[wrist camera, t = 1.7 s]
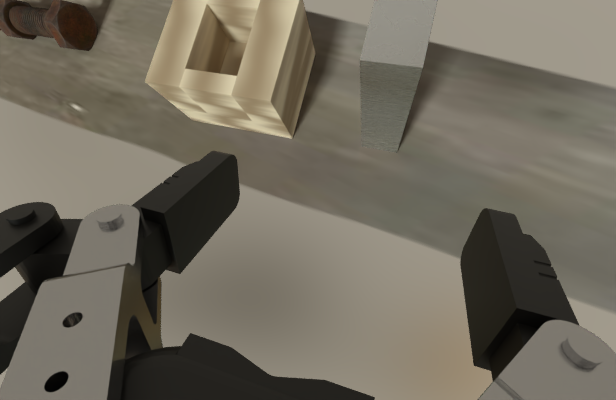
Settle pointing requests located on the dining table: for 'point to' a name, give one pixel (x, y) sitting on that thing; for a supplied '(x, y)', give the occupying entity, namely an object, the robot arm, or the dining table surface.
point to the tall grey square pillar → (392, 68)
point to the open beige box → (236, 62)
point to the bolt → (49, 23)
